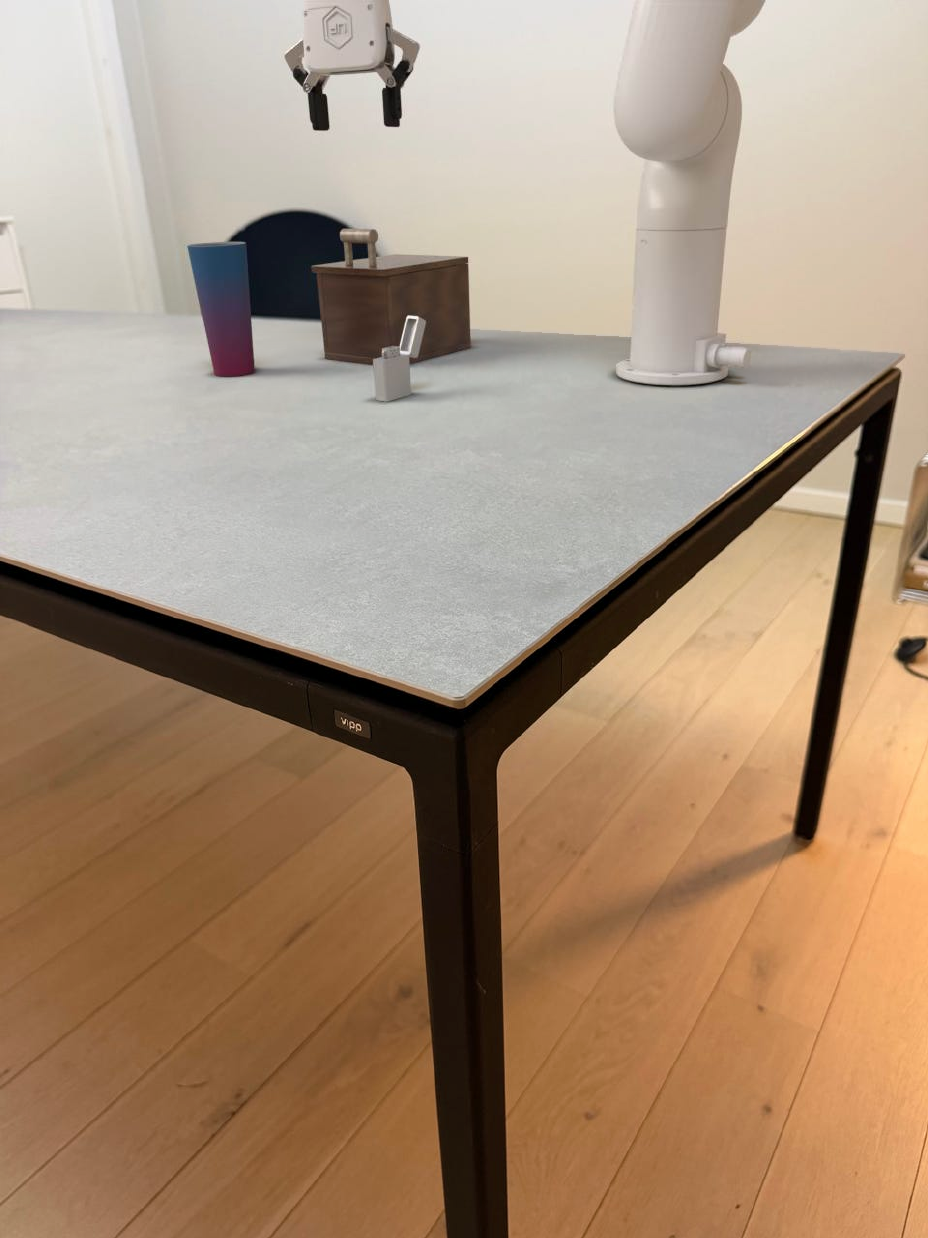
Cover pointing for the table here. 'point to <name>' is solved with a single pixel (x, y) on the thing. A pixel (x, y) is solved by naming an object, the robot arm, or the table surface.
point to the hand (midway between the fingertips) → (356, 128)
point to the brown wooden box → (394, 312)
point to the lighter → (398, 362)
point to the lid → (381, 258)
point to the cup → (225, 304)
